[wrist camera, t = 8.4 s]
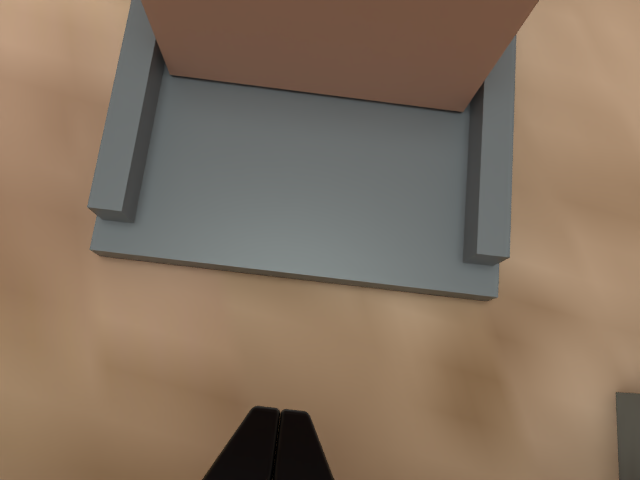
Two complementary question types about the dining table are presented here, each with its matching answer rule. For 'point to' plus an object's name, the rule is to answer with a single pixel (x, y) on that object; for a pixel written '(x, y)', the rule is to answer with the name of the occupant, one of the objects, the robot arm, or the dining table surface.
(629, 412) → the slate block
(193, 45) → the terracotta key block
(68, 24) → the dining table surface
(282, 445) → the robot arm
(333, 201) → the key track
